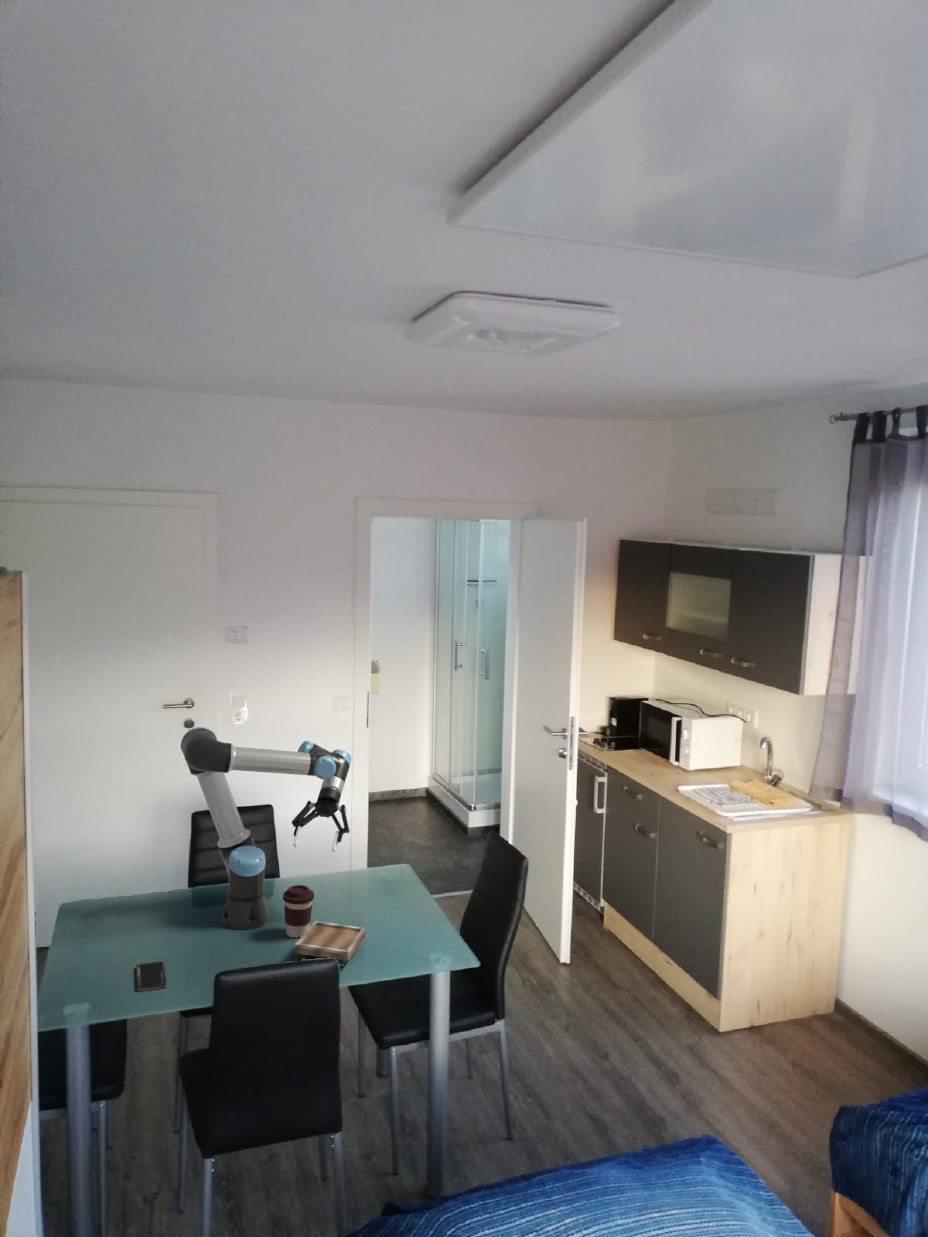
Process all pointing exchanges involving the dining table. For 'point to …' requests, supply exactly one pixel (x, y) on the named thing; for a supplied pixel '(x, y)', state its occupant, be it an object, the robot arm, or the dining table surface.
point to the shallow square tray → (330, 941)
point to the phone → (150, 976)
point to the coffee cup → (297, 909)
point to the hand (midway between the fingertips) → (314, 848)
